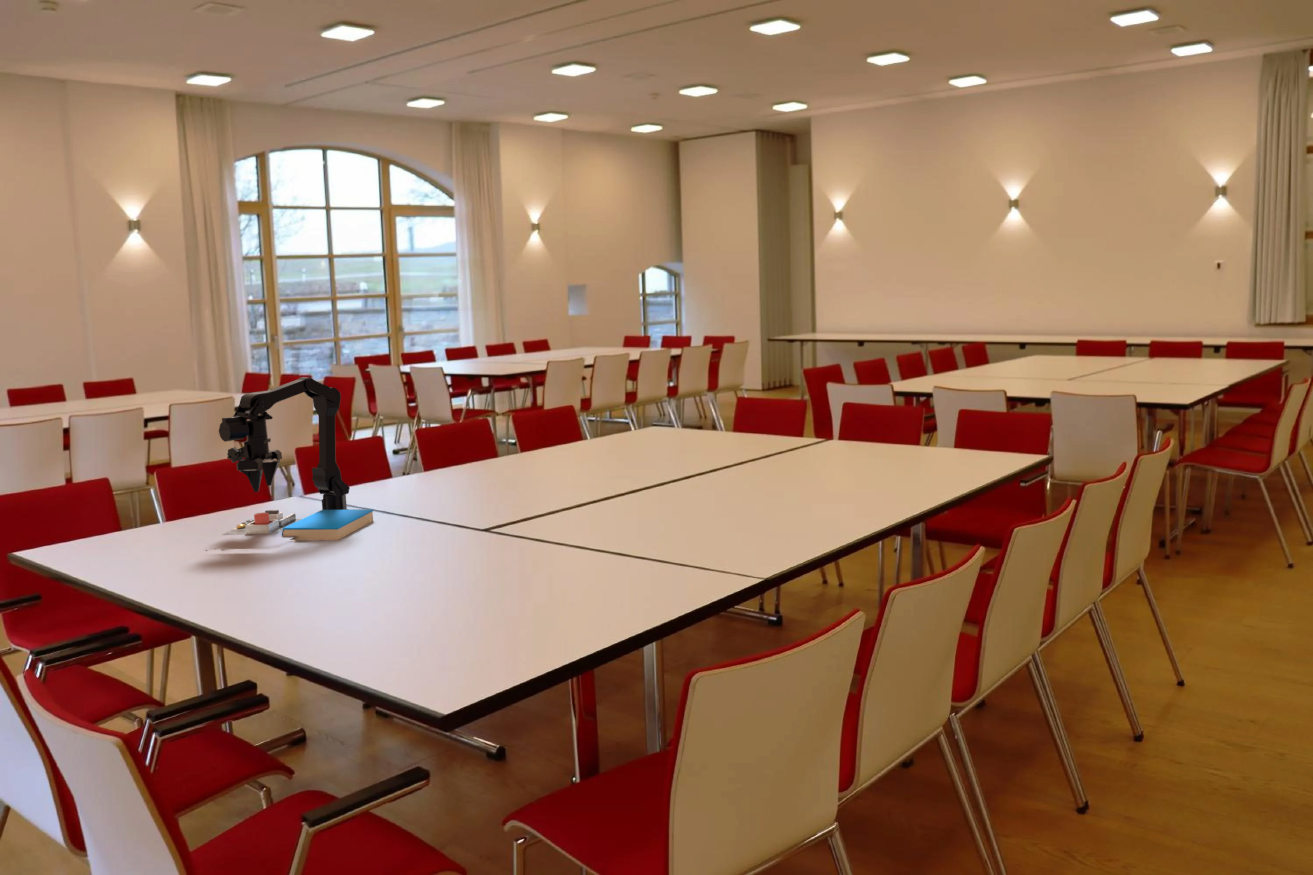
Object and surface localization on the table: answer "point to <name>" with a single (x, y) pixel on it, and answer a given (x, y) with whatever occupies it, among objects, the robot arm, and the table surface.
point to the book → (328, 524)
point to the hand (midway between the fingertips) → (262, 488)
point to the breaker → (274, 514)
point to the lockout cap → (261, 518)
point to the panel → (263, 526)
